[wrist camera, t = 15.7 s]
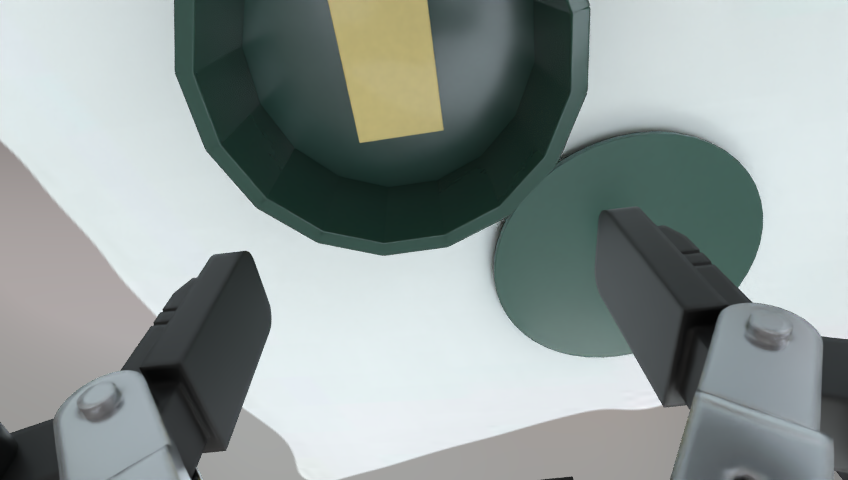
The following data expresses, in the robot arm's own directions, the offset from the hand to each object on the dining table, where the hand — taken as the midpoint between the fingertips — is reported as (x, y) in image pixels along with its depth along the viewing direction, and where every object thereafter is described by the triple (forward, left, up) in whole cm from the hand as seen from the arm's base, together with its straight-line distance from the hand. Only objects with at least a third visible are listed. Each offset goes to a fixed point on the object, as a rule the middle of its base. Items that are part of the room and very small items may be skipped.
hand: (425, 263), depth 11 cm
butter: (-2, -1, -19) cm, 19 cm away
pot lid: (+14, +13, -19) cm, 27 cm away
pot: (-2, -1, -20) cm, 20 cm away
